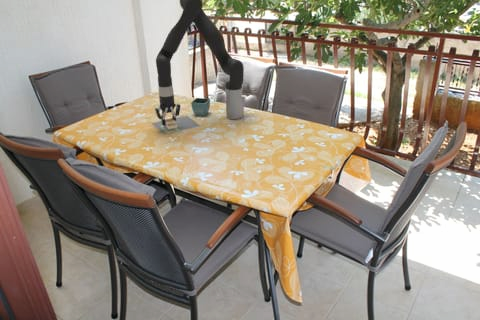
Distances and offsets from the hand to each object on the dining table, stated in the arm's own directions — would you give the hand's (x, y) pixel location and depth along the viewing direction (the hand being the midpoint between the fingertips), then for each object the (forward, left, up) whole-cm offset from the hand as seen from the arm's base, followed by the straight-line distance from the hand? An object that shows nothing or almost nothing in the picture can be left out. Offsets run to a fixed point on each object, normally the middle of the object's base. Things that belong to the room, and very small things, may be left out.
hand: (169, 124), depth 218 cm
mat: (-5, -4, -3) cm, 7 cm away
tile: (0, 0, -1) cm, 1 cm away
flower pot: (-24, -11, -3) cm, 27 cm away
